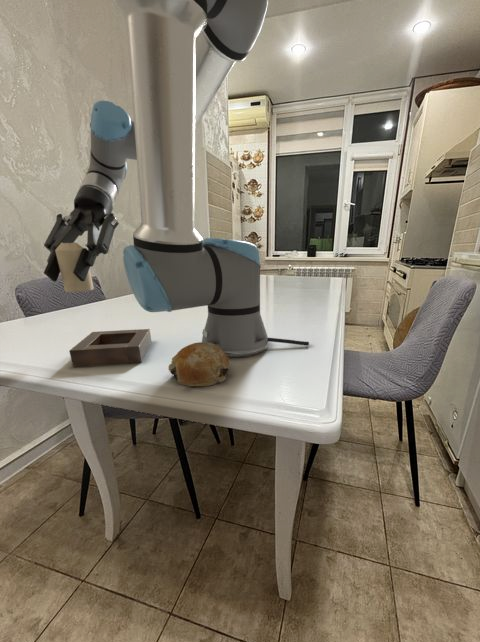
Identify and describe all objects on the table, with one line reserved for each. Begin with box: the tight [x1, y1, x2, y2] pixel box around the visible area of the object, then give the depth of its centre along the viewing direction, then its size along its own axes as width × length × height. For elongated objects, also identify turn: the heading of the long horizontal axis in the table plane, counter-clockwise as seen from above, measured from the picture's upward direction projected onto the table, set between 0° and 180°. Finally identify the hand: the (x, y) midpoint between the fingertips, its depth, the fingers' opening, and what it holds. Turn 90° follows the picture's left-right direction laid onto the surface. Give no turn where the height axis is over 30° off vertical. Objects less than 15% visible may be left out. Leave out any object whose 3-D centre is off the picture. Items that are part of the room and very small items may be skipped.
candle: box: [55, 242, 94, 293], centre depth 63 cm, size 6×6×10 cm
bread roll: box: [168, 341, 230, 388], centre depth 52 cm, size 10×10×8 cm
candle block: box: [68, 328, 153, 368], centre depth 63 cm, size 13×13×4 cm
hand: (64, 276), depth 60 cm, fingers closed on candle, 5 cm apart
